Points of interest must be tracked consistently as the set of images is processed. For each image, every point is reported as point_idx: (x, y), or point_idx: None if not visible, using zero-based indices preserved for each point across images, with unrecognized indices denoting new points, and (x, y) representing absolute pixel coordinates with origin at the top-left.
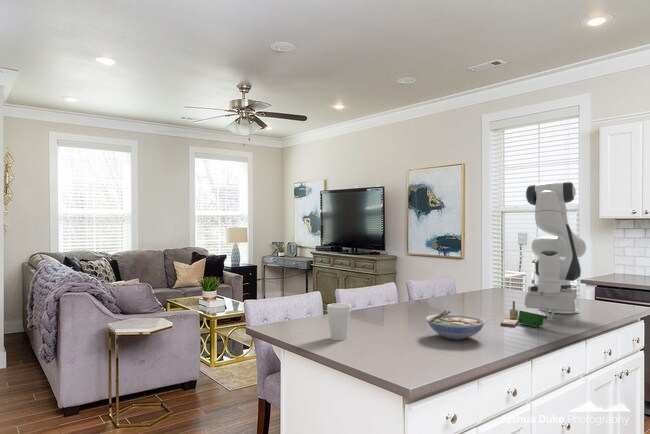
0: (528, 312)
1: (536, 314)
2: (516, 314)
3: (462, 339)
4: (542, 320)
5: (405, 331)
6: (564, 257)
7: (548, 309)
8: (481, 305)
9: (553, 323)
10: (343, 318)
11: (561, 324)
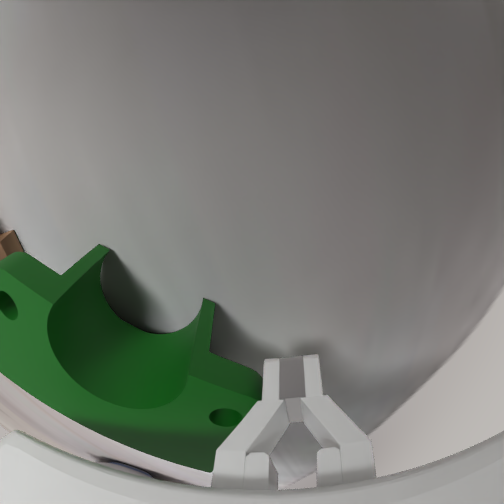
0: (88, 427)
1: (187, 462)
2: None
3: (150, 475)
4: (205, 343)
5: (54, 442)
6: None
7: (269, 482)
8: None
9: (267, 30)
10: None
11: (373, 41)
